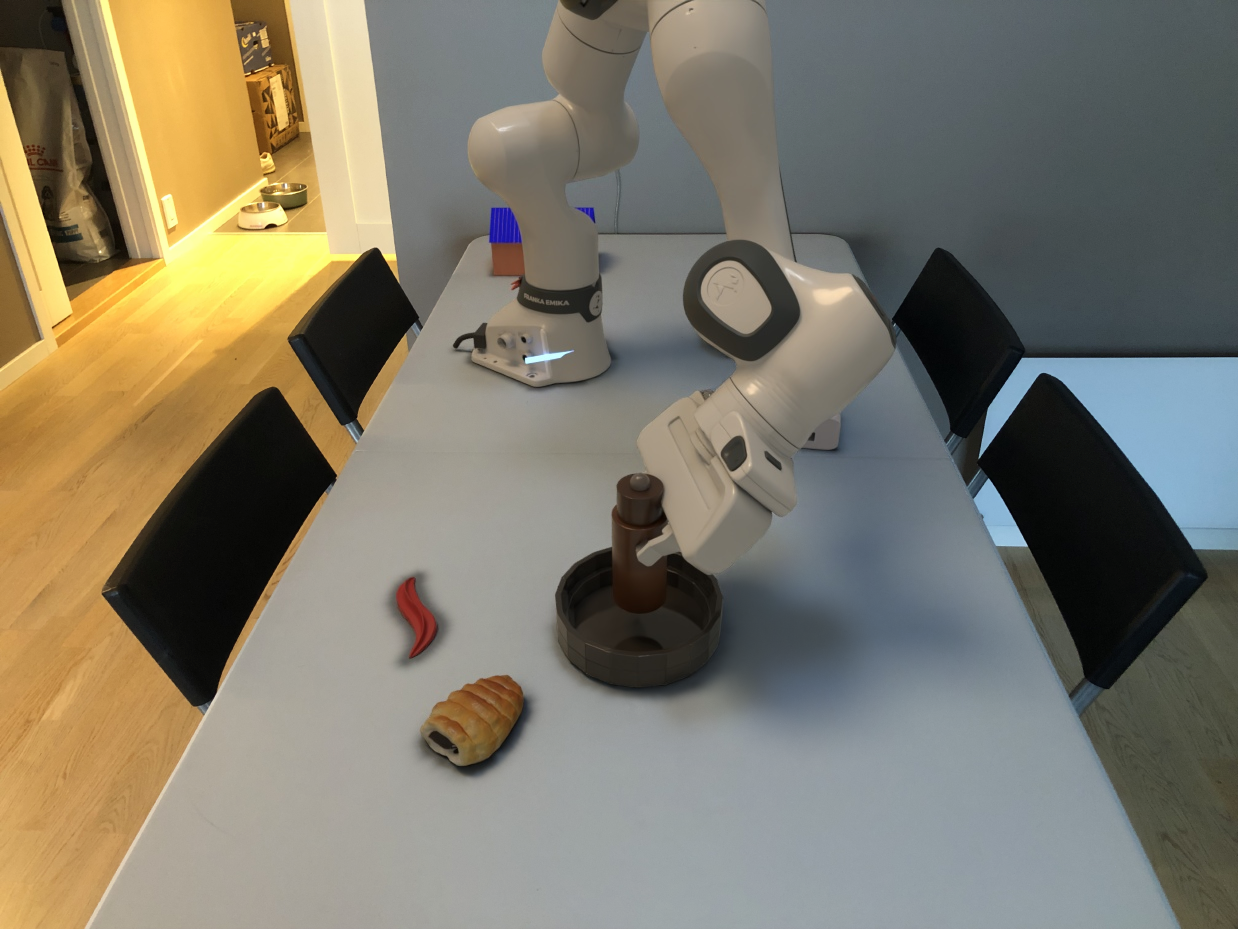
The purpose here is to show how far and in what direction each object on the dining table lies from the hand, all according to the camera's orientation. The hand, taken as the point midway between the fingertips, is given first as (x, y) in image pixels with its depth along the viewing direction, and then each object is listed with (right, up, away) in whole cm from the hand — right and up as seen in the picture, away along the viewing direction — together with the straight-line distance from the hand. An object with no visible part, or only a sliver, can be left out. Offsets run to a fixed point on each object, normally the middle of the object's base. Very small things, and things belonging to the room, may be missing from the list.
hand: (633, 537), depth 80 cm
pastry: (-14, -17, -4) cm, 22 cm away
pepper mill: (+1, -6, +4) cm, 7 cm away
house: (-16, +47, +95) cm, 107 cm away
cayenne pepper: (-22, -9, +8) cm, 25 cm away
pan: (+1, -10, +6) cm, 12 cm away
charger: (+25, +13, +41) cm, 50 cm away
